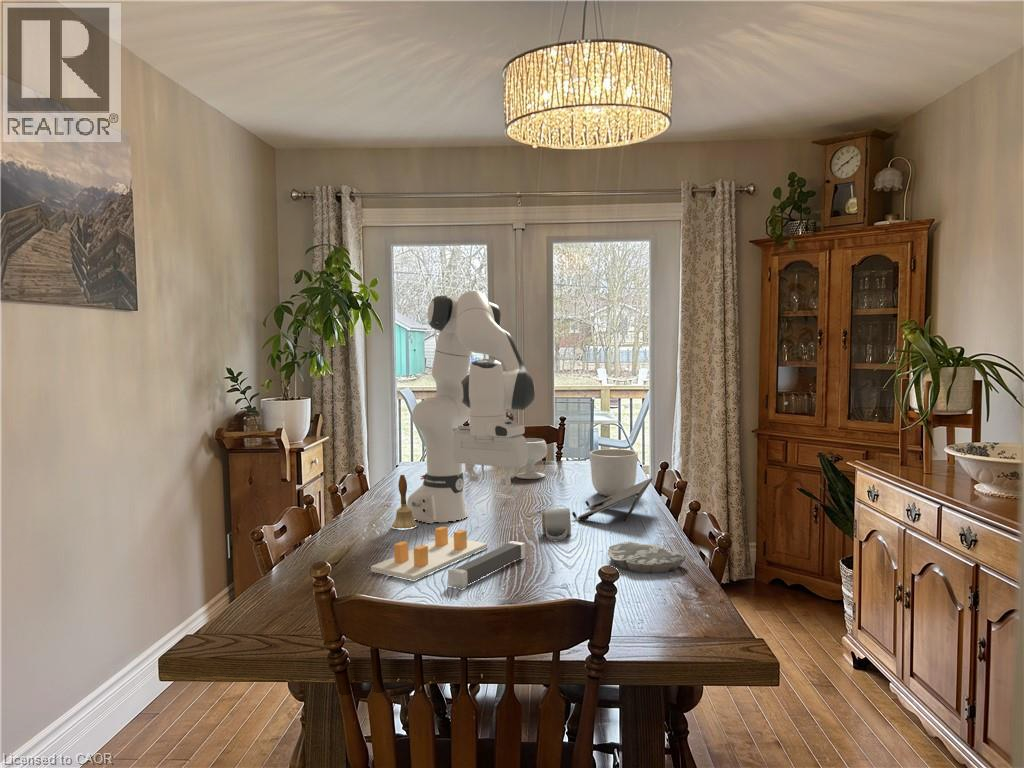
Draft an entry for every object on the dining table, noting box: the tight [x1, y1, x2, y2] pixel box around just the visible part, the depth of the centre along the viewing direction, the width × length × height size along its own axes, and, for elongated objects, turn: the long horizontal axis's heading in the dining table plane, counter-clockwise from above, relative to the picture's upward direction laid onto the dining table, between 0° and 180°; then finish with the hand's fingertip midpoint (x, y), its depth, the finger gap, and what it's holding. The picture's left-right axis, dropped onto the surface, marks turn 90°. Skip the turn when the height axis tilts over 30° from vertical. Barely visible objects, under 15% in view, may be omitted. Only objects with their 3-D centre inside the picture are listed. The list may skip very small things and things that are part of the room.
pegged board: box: [370, 526, 488, 580], centre depth 184 cm, size 14×30×6 cm, turn 147°
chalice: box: [515, 437, 548, 480], centre depth 289 cm, size 14×14×15 cm
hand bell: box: [391, 474, 419, 528], centre depth 216 cm, size 8×8×16 cm
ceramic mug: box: [541, 507, 572, 541], centre depth 204 cm, size 11×8×8 cm
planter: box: [589, 448, 639, 497], centre depth 255 cm, size 17×17×15 cm
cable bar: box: [447, 540, 526, 589], centre depth 174 cm, size 4×27×4 cm, turn 147°
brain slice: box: [607, 541, 686, 574], centre depth 178 cm, size 20×17×3 cm
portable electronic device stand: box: [571, 477, 653, 522], centre depth 225 cm, size 23×23×9 cm
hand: (490, 483), depth 173 cm, fingers open, 8 cm apart
